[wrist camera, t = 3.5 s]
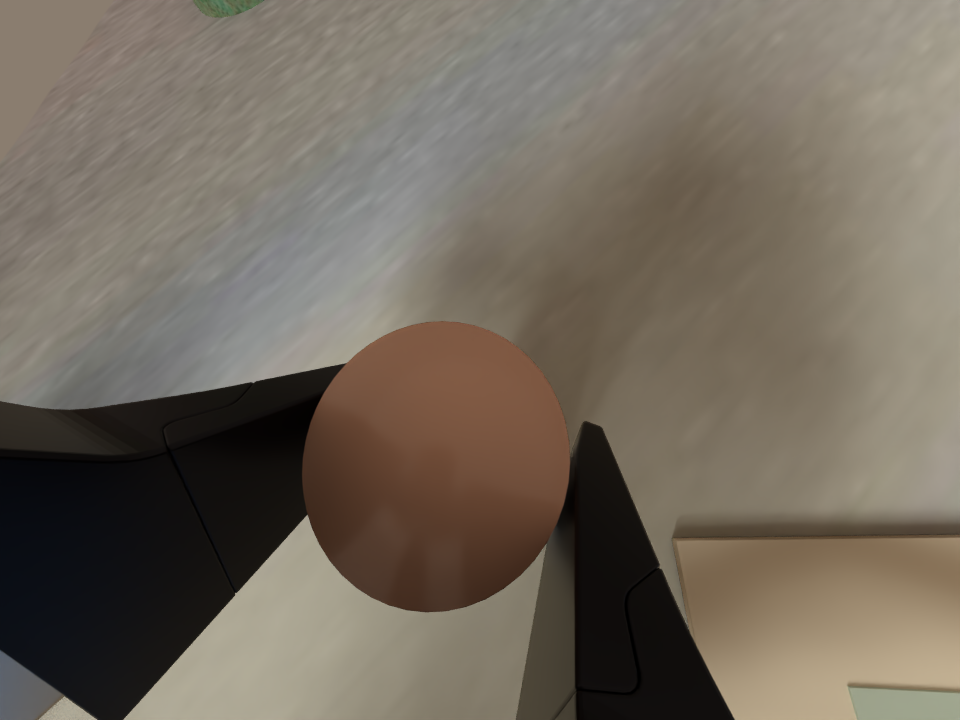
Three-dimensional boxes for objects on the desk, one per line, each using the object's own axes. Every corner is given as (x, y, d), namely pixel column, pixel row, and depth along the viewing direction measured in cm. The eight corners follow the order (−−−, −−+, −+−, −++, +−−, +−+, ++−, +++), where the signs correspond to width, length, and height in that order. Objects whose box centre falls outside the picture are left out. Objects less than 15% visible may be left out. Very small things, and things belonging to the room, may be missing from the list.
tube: (564, 516, 14) (590, 616, 4) (457, 519, 15) (286, 609, 5) (552, 406, 15) (553, 306, 6) (454, 413, 16) (316, 336, 7)
